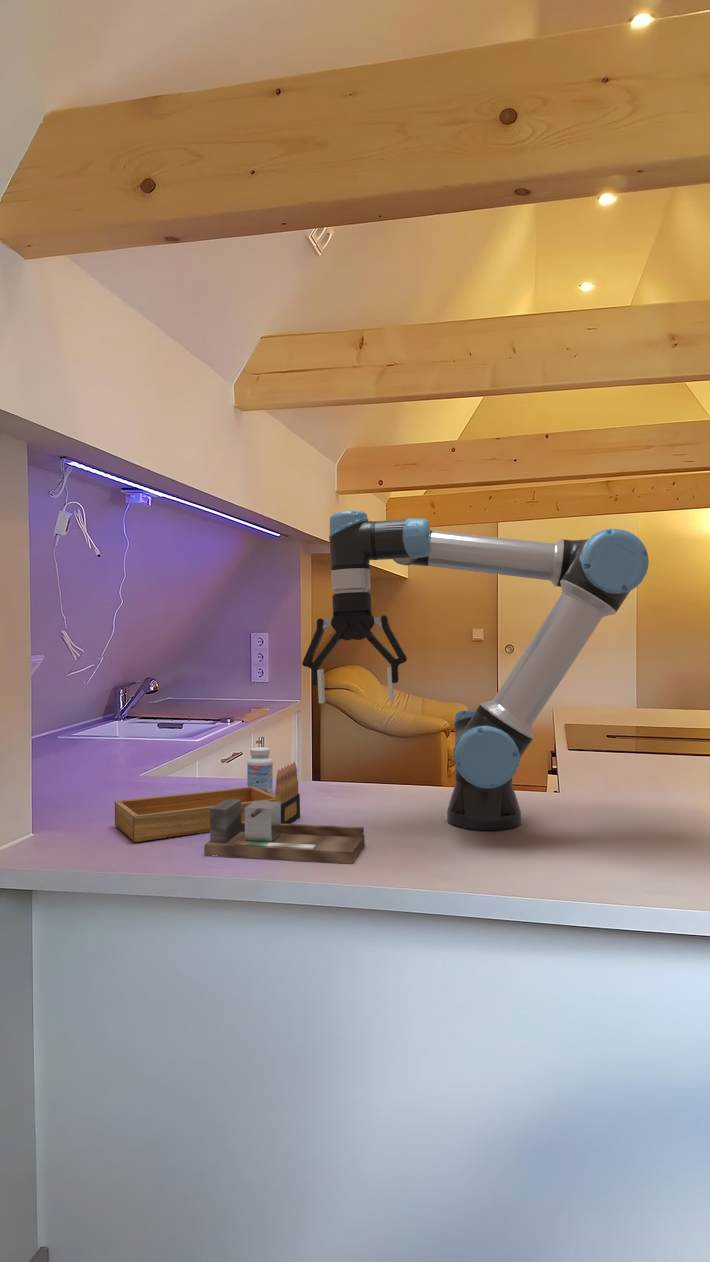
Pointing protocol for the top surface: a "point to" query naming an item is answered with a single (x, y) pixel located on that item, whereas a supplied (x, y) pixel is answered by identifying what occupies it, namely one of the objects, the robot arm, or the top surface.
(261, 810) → the cube with dark rod
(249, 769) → the pill bottle
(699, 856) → the top surface
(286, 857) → the brown tray with block
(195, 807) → the tray
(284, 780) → the ammunition clip
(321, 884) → the top surface
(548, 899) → the top surface
